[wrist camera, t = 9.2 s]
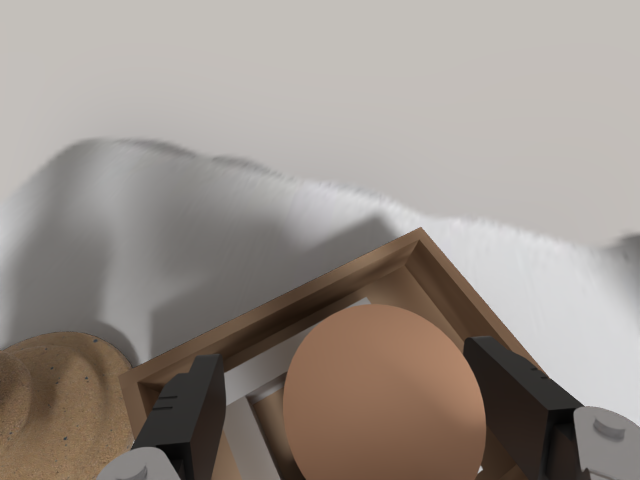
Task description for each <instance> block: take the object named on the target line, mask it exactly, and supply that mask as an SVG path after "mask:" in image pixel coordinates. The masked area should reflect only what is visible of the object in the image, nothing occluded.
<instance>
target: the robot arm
mask: <svg viewBox="0 0 640 480" xmlns="http://www.w3.org/2000/svg"><path fill="white" fill-rule="evenodd" d="M463 356H464V358H465V359H466V360H467V362H468V364H469V366H470V368H471V370H472V372H473V373H474V376H475V378H476V381H477V383H478V386H479V389H480V392H481V396H482V399H483V404H484V410H485V417H486V425H487V426H488V427H489V429H490V430H491V431H492V432H493V434H494V435H495V436H496V438H497V439H498V440H499V442H500V443H501V444H502V446H503V447H504V448H505V449H506V451H507V452H508V453H509V455H510V456H511V457H512V459H513V460H514V461H515V462H516V464H517V465H518V466H519V468H520V469H521V470H522V472H523V473H524V474H525V475H526V477H527V478H528V479H529V480H640V427H639V426H637V425H636V424H635V423H634V422H632V421H630V420H629V419H627V418H625V417H624V416H622V415H619V414H617V413H615V412H612V411H609V410H606V409H603V408H598V407H590V406H586V407H585V406H584V405H583V404H581V403H580V402H579V401H578V400H576V399H575V398H574V397H573V396H572V395H570V394H569V393H568V392H567V391H565V390H564V389H563V388H562V387H560V386H559V385H558V384H557V383H556V382H554V381H553V380H552V379H549V378H548V376H547V375H546V374H545V373H543V372H542V371H541V370H538V368H537V367H536V366H535V365H533V364H532V363H531V362H530V361H529V360H527V359H526V358H525V357H523V356H521V355H518V354H516V353H514V352H512V351H510V350H507V349H506V348H505V347H504V346H503V345H501V344H500V343H499V342H498V341H497V340H495V339H494V338H493V337H491V336H479V337H467V338H466V339H465V341H464V348H463ZM225 416H226V389H225V378H224V367H223V358H222V355H221V354H210V355H197V356H196V357H195V359H194V361H193V364H192V366H191V368H190V370H189V372H188V373H178V374H177V375H175V376H174V377H173V378H172V379H171V380H170V381H169V382H168V383H166V384H165V386H164V388H163V389H162V391H161V393H160V395H159V397H158V400H157V401H156V403H155V404H154V406H153V408H152V411H151V412H150V414H149V416H148V418H147V419H146V421H145V423H144V425H143V427H142V429H141V431H140V432H139V434H138V436H137V438H136V440H135V442H134V444H133V446H132V447H131V449H130V451H128V452H126V453H123V454H122V455H120V456H118V457H116V458H115V459H114V460H112V461H111V462H110V463H108V464H107V465H106V466H105V467H104V468H103V469H102V470H101V472H100V473H99V474H98V476H97V478H96V479H95V480H211V477H212V473H213V469H214V464H215V460H216V456H217V451H218V447H219V443H220V438H221V434H222V430H223V425H224V421H225Z"/></svg>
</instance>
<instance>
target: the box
mask: <svg viewBox="0 0 640 480" xmlns="http://www.w3.org/2000/svg"><path fill="white" fill-rule="evenodd" d="M364 304H382V305H390V306H394V307H399V308H402V309H405V310H408V311H411V312H413V313H415V314H417V315H419V316H421V317H423V318H424V319H426V320H428V321H429V322H431V323H432V324H433V325H435V326H436V327H437V328H439V329H440V330H441V331H442V332H443V333H444V334H445V335H446V336H447V337H448V338H450V339H451V341H452V342H453V343H454V344H455V345H456V347H457V348H458V349H459V350H460V352H461V353H462V355H463V348H464V341H465V339H466V338H467V337H479V336H491V337H493V338H494V339H495V340H497V341H498V342H499V343H500V344H501V345H503V346H504V347H505V348H506V349H507V350H510V351H512V352H514V353H516V354H518V355H521V356H523V357H525V358H526V359H527V360H529V361H530V362H531V363H532V364H533V365H535V366H536V367H537V368H538V370H541V371H542V372H543V373H545V372H544V371H543V369H542V368H541V367H540V366H539V365H538V364H537V362H536V361H535V360H534V359H533V358H532V357H531V355H530V354H529V353H528V352H527V351H526V350H525V348H524V347H523V346H522V345H521V344H520V343H519V341H518V340H517V339H516V338H515V337H514V335H513V334H512V333H511V332H510V331H509V330H508V328H507V327H506V326H505V325H504V324H503V323H502V321H501V320H500V319H499V318H498V317H497V316H496V314H495V313H494V312H493V311H492V310H491V308H490V307H489V306H488V305H487V304H486V303H485V301H484V300H483V299H482V298H481V297H480V296H479V294H478V293H477V292H476V291H475V290H474V289H473V287H472V286H471V285H470V284H469V283H468V281H467V280H466V279H465V278H464V277H463V276H462V274H461V273H460V272H459V271H458V270H457V269H456V267H455V266H454V265H453V264H452V263H451V262H450V260H449V259H448V258H447V257H446V256H445V254H444V253H443V252H442V251H441V250H440V249H439V247H438V246H437V245H436V244H435V243H434V242H433V240H432V239H431V238H430V237H429V236H428V235H427V233H426V232H425V231H424V230H423V229H422V227H420V228H418V229H416V230H414V231H412V232H410V233H407V234H405V235H403V236H401V237H399V238H397V239H395V240H393V241H391V242H389V243H387V244H385V245H383V246H381V247H379V248H377V249H375V250H373V251H371V252H369V253H367V254H365V255H363V256H361V257H359V258H357V259H355V260H353V261H351V262H349V263H346V264H344V265H342V266H340V267H338V268H336V269H334V270H332V271H330V272H328V273H326V274H324V275H322V276H320V277H318V278H316V279H314V280H312V281H310V282H308V283H306V284H304V285H302V286H300V287H298V288H296V289H294V290H292V291H290V292H287V293H285V294H283V295H281V296H279V297H277V298H275V299H273V300H271V301H269V302H267V303H265V304H263V305H261V306H259V307H257V308H255V309H253V310H251V311H249V312H247V313H245V314H243V315H241V316H239V317H237V318H235V319H233V320H231V321H228V322H226V323H224V324H222V325H220V326H218V327H216V328H214V329H212V330H210V331H208V332H206V333H204V334H202V335H200V336H198V337H196V338H194V339H192V340H190V341H188V342H186V343H184V344H182V345H180V346H178V347H176V348H174V349H172V350H169V351H167V352H165V353H163V354H161V355H159V356H157V357H155V358H153V359H151V360H149V361H147V362H145V363H143V364H141V365H139V366H137V367H135V368H133V369H131V370H129V371H127V372H125V373H123V374H121V375H119V376H118V379H119V382H120V386H121V390H122V394H123V398H124V402H125V406H126V409H127V413H128V417H129V421H130V425H131V429H132V433H133V436H134V440H136V438H137V436H138V434H139V432H140V431H141V429H142V427H143V425H144V423H145V421H146V419H147V418H148V416H149V414H150V412H151V411H152V408H153V406H154V404H155V403H156V401H157V400H158V397H159V395H160V393H161V391H162V389H163V388H164V386H165V384H166V383H168V382H169V381H170V380H171V379H172V378H173V377H174V376H175V375H177V374H178V373H188V372H189V370H190V368H191V366H192V364H193V361H194V359H195V357H196V356H197V355H210V354H221V355H222V358H223V367H224V378H225V389H226V416H225V421H224V425H223V430H222V434H221V438H220V443H219V447H218V451H217V456H216V460H215V464H214V469H213V473H212V477H211V480H306V479H305V477H304V476H303V474H302V473H301V471H300V469H299V467H298V465H297V463H296V461H295V459H294V457H293V454H292V451H291V449H290V446H289V443H288V439H287V435H286V431H285V425H284V417H283V394H284V385H285V381H286V376H287V372H288V369H289V366H290V364H291V361H292V358H293V356H294V355H295V353H296V351H297V349H298V347H299V346H300V344H301V343H302V341H303V340H304V338H305V337H306V336H307V335H308V334H309V333H310V332H311V330H312V329H313V328H314V327H316V326H317V325H318V324H319V323H320V322H322V321H323V320H324V319H326V318H327V317H329V316H331V315H332V314H334V313H336V312H339V311H341V310H343V309H346V308H350V307H353V306H358V305H364ZM545 374H546V373H545ZM546 375H547V374H546ZM547 376H548V375H547ZM548 378H549V377H548ZM549 379H550V378H549ZM475 480H529V479H528V478H527V477H526V475H525V474H524V473H523V472H522V470H521V469H520V468H519V466H518V465H517V464H516V462H515V461H514V460H513V459H512V457H511V456H510V455H509V453H508V452H507V451H506V449H505V448H504V447H503V446H502V444H501V443H500V442H499V440H498V439H497V438H496V436H495V435H494V434H493V432H492V431H491V430H490V429H489V427H488V426H487V425H486V441H485V449H484V454H483V459H482V462H481V465H480V468H479V471H478V474H477V476H476V478H475Z"/></svg>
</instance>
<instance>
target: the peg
mask: <svg viewBox="0 0 640 480" xmlns="http://www.w3.org/2000/svg"><path fill="white" fill-rule="evenodd" d="M283 417H284V425H285V431H286V435H287V439H288V443H289V446H290V449H291V451H292V454H293V457H294V459H295V461H296V463H297V465H298V467H299V469H300V471H301V473H302V474H303V476H304V477H305V479H306V480H475V478H476V476H477V474H478V471H479V468H480V465H481V462H482V459H483V454H484V449H485V441H486V417H485V410H484V404H483V399H482V396H481V392H480V389H479V386H478V383H477V381H476V378H475V376H474V373H473V372H472V370H471V368H470V366H469V364H468V362H467V360H466V359H465V358H464V356H463V355H462V353H461V352H460V350H459V349H458V348H457V347H456V345H455V344H454V343H453V342H452V341H451V339H450V338H448V337H447V336H446V335H445V334H444V333H443V332H442V331H441V330H440V329H439V328H437V327H436V326H435V325H433V324H432V323H431V322H429V321H428V320H426V319H424V318H423V317H421V316H419V315H417V314H415V313H413V312H411V311H408V310H405V309H402V308H399V307H394V306H390V305H382V304H364V305H358V306H353V307H350V308H346V309H343V310H341V311H339V312H336V313H334V314H332V315H331V316H329V317H327V318H326V319H324V320H323V321H322V322H320V323H319V324H318V325H317V326H316V327H314V328H313V329H312V330H311V332H310V333H309V334H308V335H307V336H306V337H305V338H304V340H303V341H302V343H301V344H300V346H299V347H298V349H297V351H296V353H295V355H294V356H293V358H292V361H291V364H290V366H289V369H288V372H287V376H286V381H285V385H284V394H283Z"/></svg>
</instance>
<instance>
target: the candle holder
mask: <svg viewBox="0 0 640 480" xmlns="http://www.w3.org/2000/svg"><path fill="white" fill-rule="evenodd" d="M131 369H133V368H132V366H131V364H130V363H129V361H128V360H127V359H126V358H125V356H124V355H123V354H122V353H121V352H120V351H119V350H118V349H116V348H115V347H114V346H113V345H111V344H110V343H108V342H106V341H104V340H102V339H100V338H98V337H96V336H92V335H89V334H85V333H78V332H54V333H48V334H43V335H39V336H36V337H32V338H29V339H26V340H24V341H21V342H19V343H17V344H15V345H12V346H10V347H8V348H7V349H5V350H3V351H2V350H0V480H95V479H96V478H97V476H98V474H99V473H100V472H101V470H102V469H103V468H104V467H105V466H106V465H107V464H108V463H110V462H111V461H112V460H114V459H115V458H116V457H118V456H120V455H122V454H123V453H126V452H128V451H130V449H131V447H132V444H133V441H134V436H133V433H132V429H131V425H130V421H129V417H128V413H127V409H126V406H125V402H124V398H123V394H122V390H121V386H120V382H119V379H118V376H119V375H121V374H123V373H125V372H127V371H129V370H131Z"/></svg>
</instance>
